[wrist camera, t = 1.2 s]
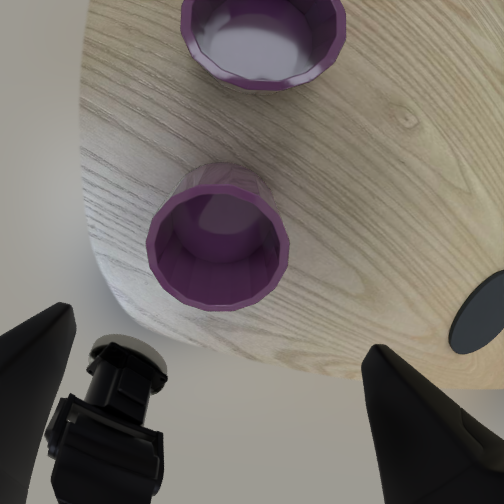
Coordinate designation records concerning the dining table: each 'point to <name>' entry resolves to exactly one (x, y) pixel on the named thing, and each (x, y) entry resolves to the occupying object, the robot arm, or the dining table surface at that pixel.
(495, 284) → the coaster
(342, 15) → the purple faceted cup
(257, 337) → the dining table surface
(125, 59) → the dining table surface
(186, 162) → the dining table surface
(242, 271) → the purple cup
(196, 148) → the dining table surface
